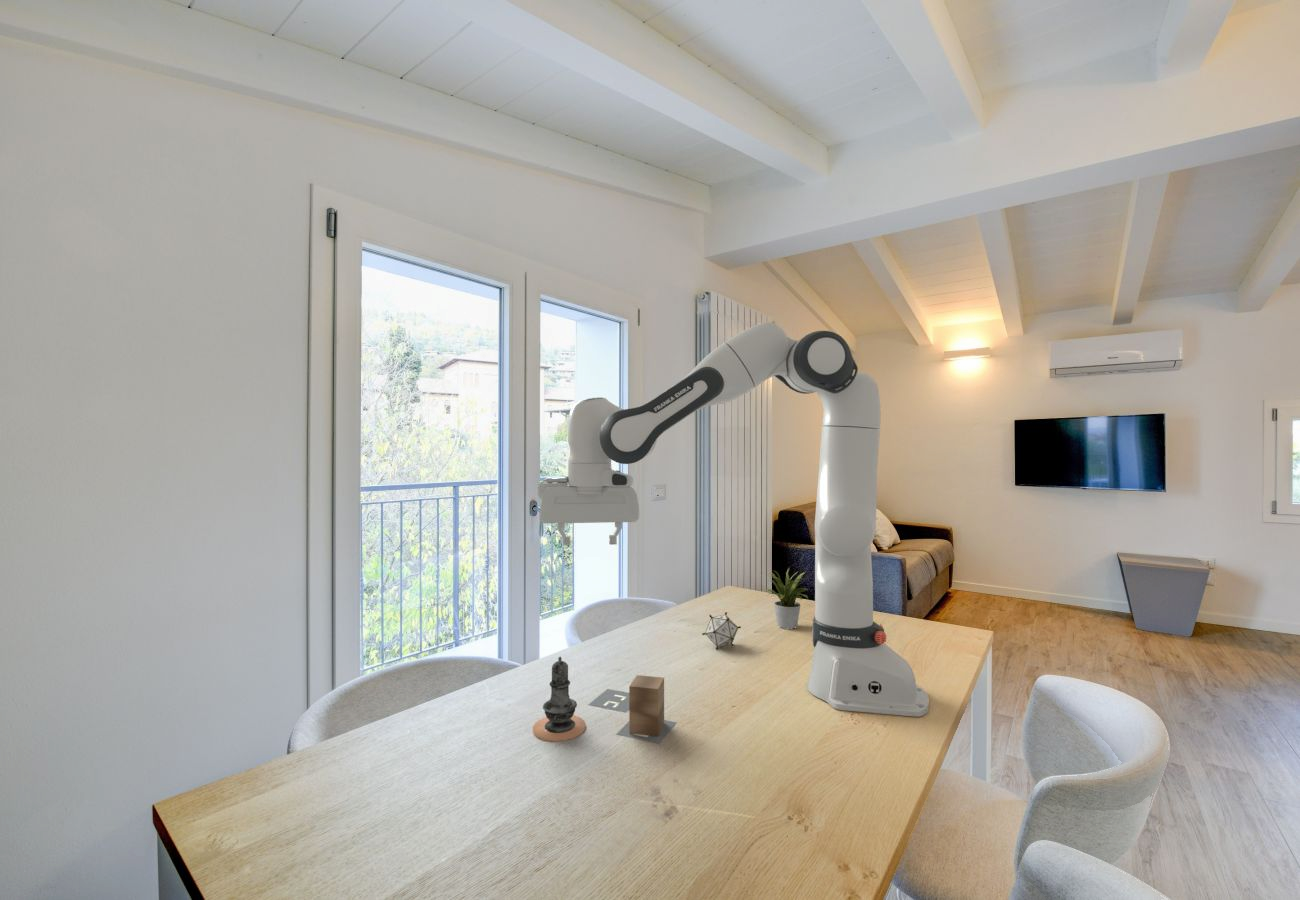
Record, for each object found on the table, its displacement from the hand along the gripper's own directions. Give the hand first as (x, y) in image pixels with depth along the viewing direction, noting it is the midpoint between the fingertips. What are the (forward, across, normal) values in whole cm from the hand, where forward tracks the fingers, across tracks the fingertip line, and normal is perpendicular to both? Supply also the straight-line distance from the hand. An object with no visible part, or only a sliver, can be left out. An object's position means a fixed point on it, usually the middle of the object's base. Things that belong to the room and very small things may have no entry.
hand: (589, 544), depth 118 cm
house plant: (+29, +53, +34) cm, 70 cm away
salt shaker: (+29, -6, -18) cm, 34 cm away
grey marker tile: (+29, +5, -7) cm, 30 cm away
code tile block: (+29, +10, -19) cm, 36 cm away
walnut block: (+29, +10, -19) cm, 36 cm away
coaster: (+29, -6, -18) cm, 34 cm away
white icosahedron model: (+29, +33, +20) cm, 48 cm away
